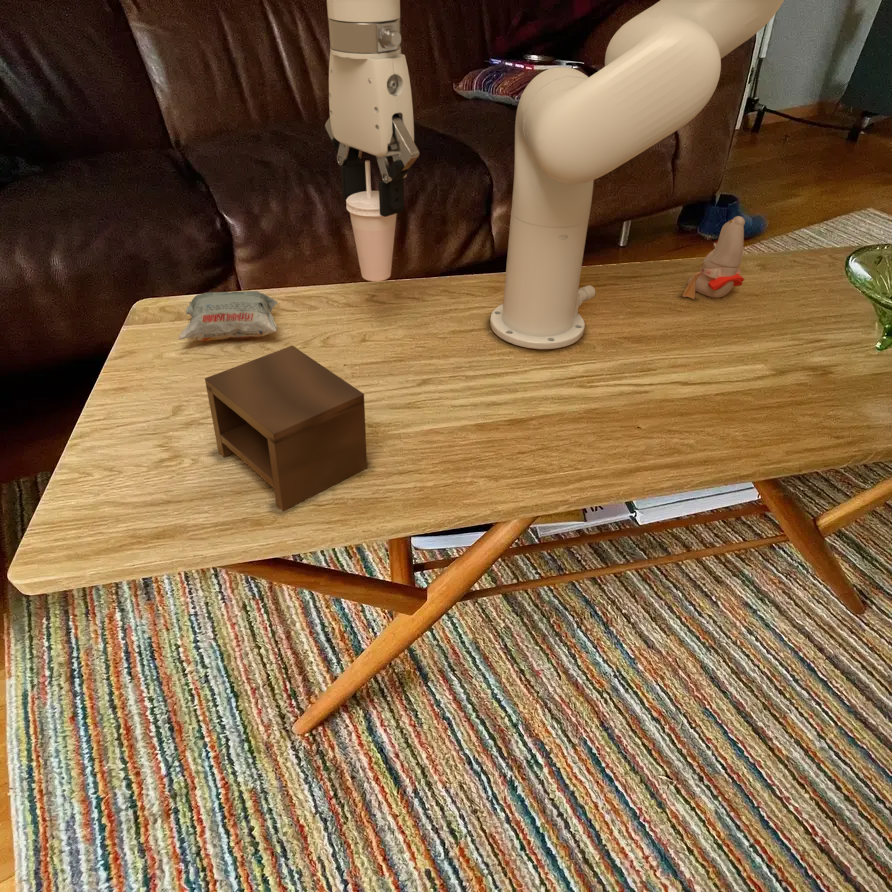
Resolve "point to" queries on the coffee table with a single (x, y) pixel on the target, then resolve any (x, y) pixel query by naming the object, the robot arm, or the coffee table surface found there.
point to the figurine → (720, 263)
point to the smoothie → (371, 232)
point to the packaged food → (230, 316)
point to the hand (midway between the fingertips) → (372, 204)
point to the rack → (289, 423)
